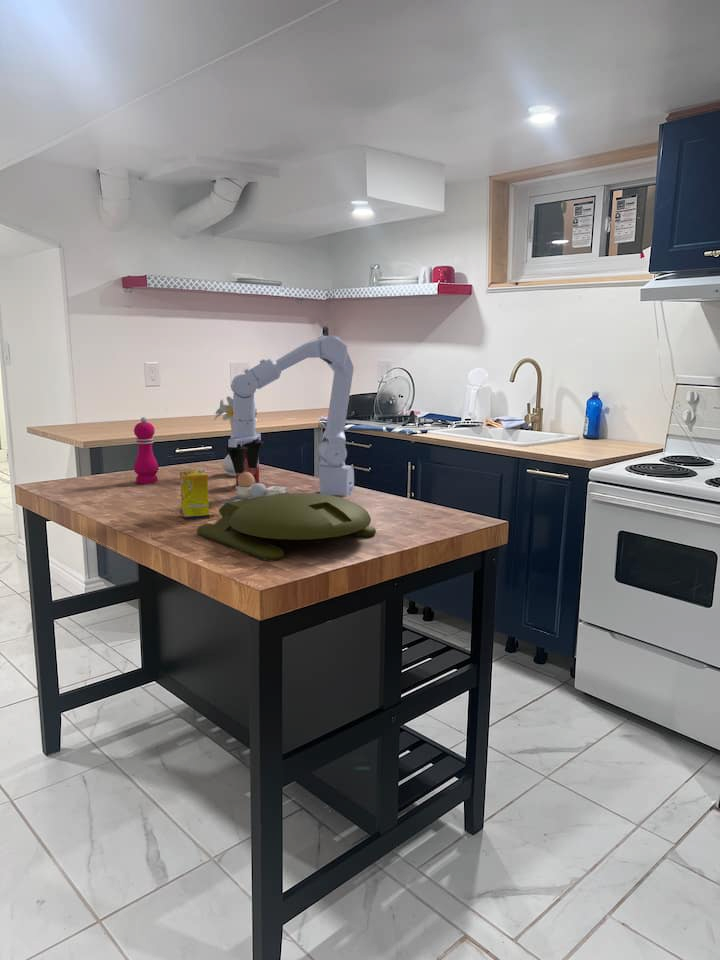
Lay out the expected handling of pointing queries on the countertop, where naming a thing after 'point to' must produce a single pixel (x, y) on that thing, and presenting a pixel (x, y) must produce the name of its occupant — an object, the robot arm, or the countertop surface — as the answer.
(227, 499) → the slate board
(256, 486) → the grey ball
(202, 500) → the supplement box
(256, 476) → the soda can
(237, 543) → the spaceship
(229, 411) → the flower vase
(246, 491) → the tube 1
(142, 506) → the countertop surface
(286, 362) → the robot arm
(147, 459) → the pepper mill
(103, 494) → the countertop surface
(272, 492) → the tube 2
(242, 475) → the terracotta ball
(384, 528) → the countertop surface
